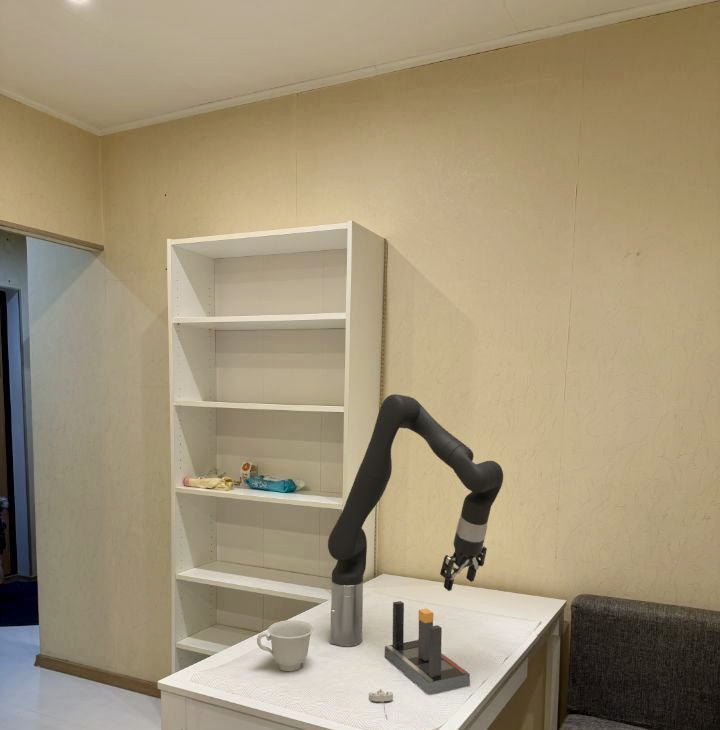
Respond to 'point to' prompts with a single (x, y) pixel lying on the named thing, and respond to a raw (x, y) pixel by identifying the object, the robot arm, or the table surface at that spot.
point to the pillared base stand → (425, 674)
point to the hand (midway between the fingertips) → (458, 584)
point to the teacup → (288, 643)
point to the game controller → (381, 696)
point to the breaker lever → (424, 633)
